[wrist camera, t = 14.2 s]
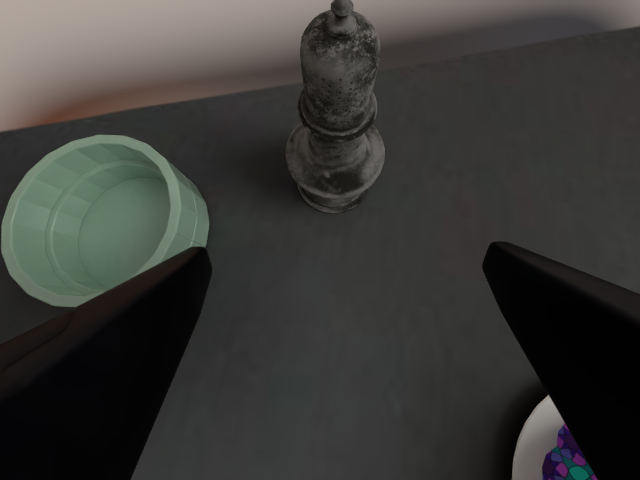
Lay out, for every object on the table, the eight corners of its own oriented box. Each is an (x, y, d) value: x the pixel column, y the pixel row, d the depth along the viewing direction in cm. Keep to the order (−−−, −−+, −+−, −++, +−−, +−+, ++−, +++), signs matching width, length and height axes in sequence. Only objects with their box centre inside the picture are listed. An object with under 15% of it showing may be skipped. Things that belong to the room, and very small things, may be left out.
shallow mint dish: (239, 222, 19) (217, 201, 15) (133, 338, 17) (77, 349, 13) (144, 142, 20) (101, 105, 17) (39, 242, 19) (-36, 227, 15)
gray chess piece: (330, 127, 20) (334, -109, 9) (391, 175, 19) (490, -18, 8) (275, 181, 19) (198, 0, 8) (336, 234, 18) (353, 118, 7)
